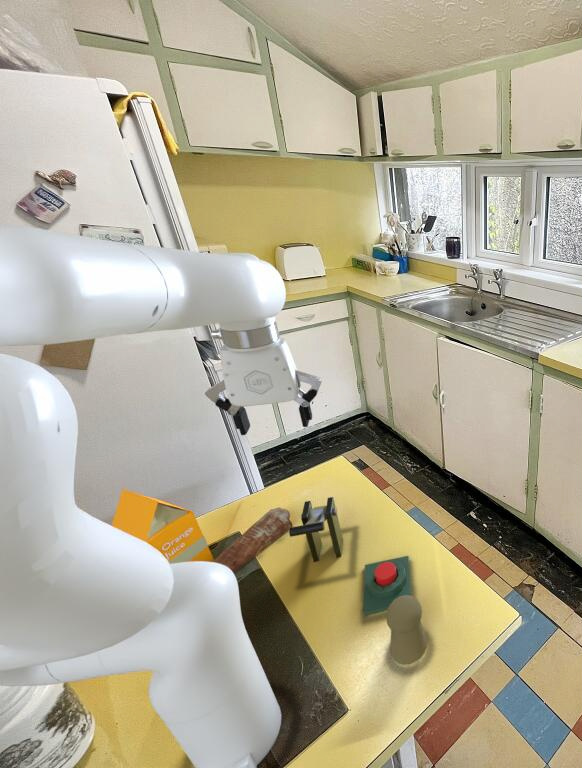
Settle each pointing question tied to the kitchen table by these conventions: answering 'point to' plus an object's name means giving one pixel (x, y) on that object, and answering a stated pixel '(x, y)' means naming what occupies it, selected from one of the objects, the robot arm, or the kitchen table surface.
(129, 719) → the kitchen table surface
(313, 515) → the lever
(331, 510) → the bracket
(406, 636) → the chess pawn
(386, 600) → the button box
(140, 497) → the orange juice
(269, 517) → the salami
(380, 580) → the button
